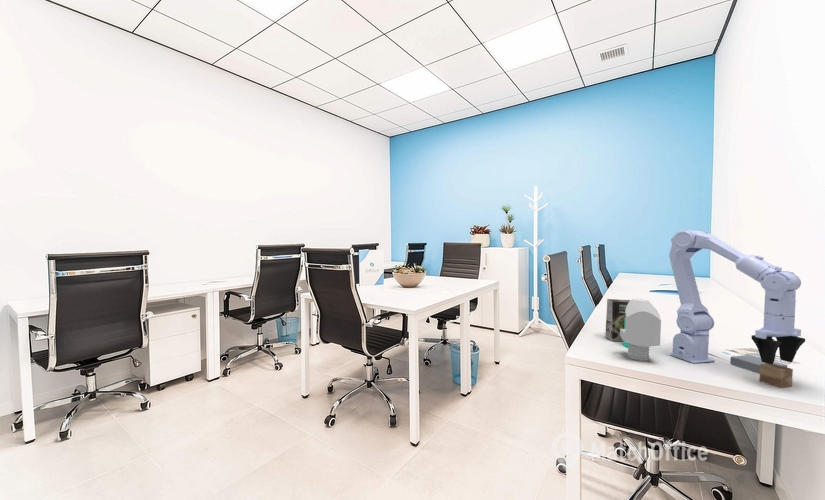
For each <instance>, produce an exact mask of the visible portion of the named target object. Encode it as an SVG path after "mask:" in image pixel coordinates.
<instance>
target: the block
mask: <svg viewBox="0 0 825 500" xmlns="http://www.w3.org/2000/svg"><path fill="white" fill-rule="evenodd" d="M793 372H794V369H793V368H790V367H788V366H787V367H784V366H780V365H777V364H768V363H766V364H760V374H759V382H762V383H765V384H767V385H771V386H773V387H777V388H779V389H783V388H791V387H793V374H794V373H793Z"/></svg>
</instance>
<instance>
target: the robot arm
mask: <svg viewBox="0 0 825 500" xmlns="http://www.w3.org/2000/svg"><path fill="white" fill-rule="evenodd" d="M670 242H671V247H670V251H669V255H668V256H669V261H670V265H671V268H672V269H671V270H672V273H673V279H674V282H675V286H676V289H677V295H678V298H679V302H680V306H679V307H678V309H677V310H676V312H677V313H676V314H677V318H676V325H677V327H678V328H679V330H680V331H679V333H676V334H675V335H674V336H673V339H672V353H669V355H670V356H672V357H675V358H677V359H681V360H683V361H687V362H689V363H692V364H701V363H711V362H715V361H716V359H713V358H710V357H709V346H710V345H709V339H710V331H711V330H712V329H713V328H714V327H715V320H714V317H712V315H711V314H710V313H709V311H708V308H707V307H706V306H705V305H704V304H702V300H701V296H700V293H699V289H698V285H697V281H696V277H695V273H694V270H693V265H692V261H691V258H692V257H693V256H694V255H695V254H696V253H698V252H699V251H701V250H709V251H711V252H714V253H716V254H718V255H719V256H722V257H724V258H725V259H727V260H729V261H731V262H732V263H734V264H735V267H736V268H735V269H736V270H737V271H740V272H741V273H743V274H745V275H747V276H748V277H749V278H751V279H753V280H754V281H755V282H758V283H760V286H761V288H762V289H763V290H764V307H763V326H762V327H761V328H759V329H756V330H755V331H754V332H755V333H754V334H753V335H751V340H752V341H753V343H754V344H755V346H756V348H757V351H758V353H759V357H760V358H761V360H762V362H764V363H768V364H773V363H774V362H775V360H776V356H777V355H776V354H777V351H778V350H779V351H778V352H779V358H780V361H785V362H788V363H793V361H794V359H795V356H796V354H797V352H798V350H799V349H800V348H801V346H802V345H804V343H806V338H803V337H802V336H801V335H802V334H801V333H802V329H800V328H795V324H796V323H795V321H796V303H797V300H796V297H797V296H796V295H797V292H796V291H797V290H799V289H800V288H801V285H802V280H801V278H800V277H799V276H798V275H796V274H795V273H794V272H793V271H788V270H784V271H783V267H781V266H779V265H778V266H776V265H773V264H771V263H770V262H768V261H766V260H765V257H763V256H762V255H757V254H756V255H755V254H745V253H743V252H741V251H739V249H736V248H735V247H732V246H731V245H729V244H728V243H727V242H725V241H723V240H721V239H720V238H718V237H717V236H715V235H714V234H712V233H708V232H707V231H705V230H690V229H689V230H688V229H681V230H678V231H677V232H676V233H675V234H674V235H673V236H672V237H671V238H670ZM774 338H775V339H776V340H775V339H774Z"/></svg>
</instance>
